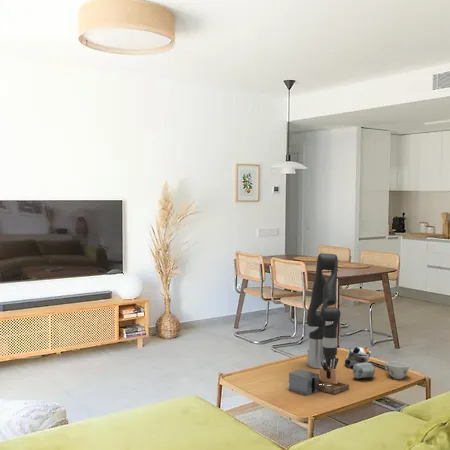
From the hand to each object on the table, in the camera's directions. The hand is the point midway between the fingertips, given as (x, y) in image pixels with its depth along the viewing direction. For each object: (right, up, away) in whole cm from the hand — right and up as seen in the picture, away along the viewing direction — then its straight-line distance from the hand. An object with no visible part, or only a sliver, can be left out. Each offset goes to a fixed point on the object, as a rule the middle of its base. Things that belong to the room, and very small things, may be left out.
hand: (329, 377), depth 288 cm
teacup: (+42, -6, +21) cm, 47 cm away
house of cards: (+26, -5, +56) cm, 62 cm away
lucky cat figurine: (+24, -5, +39) cm, 46 cm away
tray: (0, -6, 0) cm, 6 cm away
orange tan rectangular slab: (0, -2, 0) cm, 2 cm away
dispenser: (-14, -6, -3) cm, 16 cm away
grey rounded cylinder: (+21, -6, +17) cm, 27 cm away
